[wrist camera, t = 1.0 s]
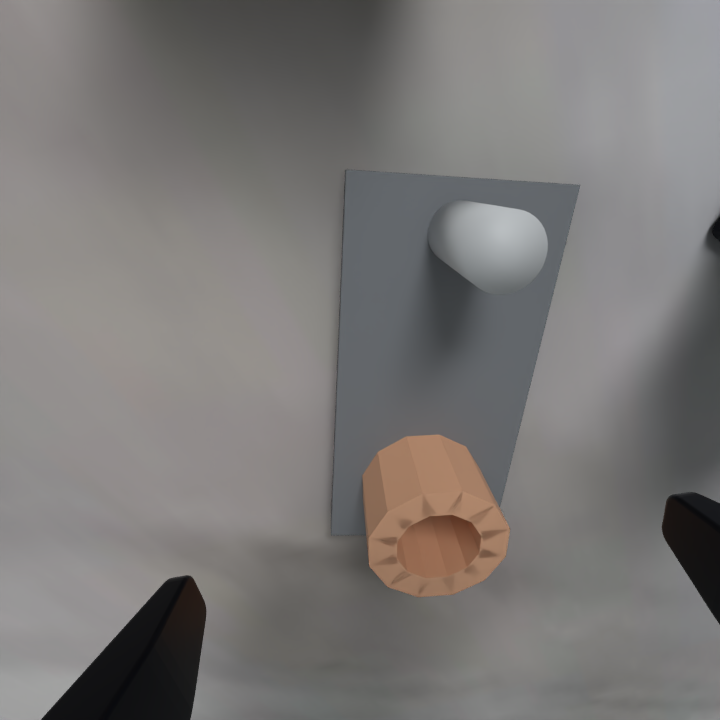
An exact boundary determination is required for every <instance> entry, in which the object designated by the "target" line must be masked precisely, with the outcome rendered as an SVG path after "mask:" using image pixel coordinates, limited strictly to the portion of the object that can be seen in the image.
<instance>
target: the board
mask: <svg viewBox="0 0 720 720" xmlns="http://www.w3.org/2000/svg"><path fill="white" fill-rule="evenodd" d="M579 188H580V185H573V184H558V183H543V182H528V181H512V180H497V179H482V178H467V177H452V176H437V175H422V174H407V173H391V172H376V171H361V170H345V190H344V215H343V239H342V264H341V288H340V313H339V338H338V362H337V387H336V411H335V436H334V460H333V485H332V510H331V535H366V526H365V515H364V504H363V481H362V475H363V474H364V472H365V471H366V469H367V468H368V466H369V465H370V463H371V461H372V460H373V458H374V457H375V455H376V454H377V452H378V451H380V450H382V449H384V448H386V447H388V446H389V445H391V444H393V443H395V442H397V441H399V440H401V439H402V438H404V437H406V436H422V435H441V436H444V437H446V438H448V439H450V440H452V441H455V442H457V443H459V444H461V445H464V446H466V447H467V449H468V451H469V452H470V454H471V455H472V457H473V459H474V460H475V462H476V463H477V465H478V467H479V468H480V470H481V472H482V474H483V476H484V478H485V480H486V482H487V484H488V486H489V488H490V490H491V492H492V494H493V496H494V498H495V500H496V502H497V504H498V506H499V508H500V504H501V500H502V496H503V492H504V488H505V484H506V480H507V476H508V472H509V468H510V464H511V460H512V456H513V452H514V448H515V444H516V440H517V436H518V432H519V428H520V424H521V420H522V416H523V412H524V408H525V404H526V400H527V396H528V392H529V388H530V384H531V380H532V376H533V372H534V368H535V364H536V360H537V356H538V352H539V348H540V344H541V340H542V336H543V332H544V328H545V324H546V320H547V316H548V312H549V308H550V304H551V300H552V296H553V292H554V288H555V284H556V280H557V276H558V272H559V268H560V264H561V260H562V256H563V252H564V248H565V244H566V240H567V236H568V232H569V228H570V224H571V220H572V216H573V212H574V208H575V204H576V200H577V196H578V192H579Z"/></svg>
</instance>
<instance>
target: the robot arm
mask: <svg viewBox="0 0 720 720" xmlns="http://www.w3.org/2000/svg"><path fill="white" fill-rule="evenodd" d="M713 235H714V237H715V238H716V239H718V240H719V241H720V218H719V219H718V221H717V222H716V223H715V225H714V227H713ZM662 532H663V535H664V538H665V540H666V542H667V544H668V545H669V547H670V548H671V550H672V551H673V553H674V554H675V556H676V558H677V559H678V561H679V562H680V564H681V565H682V567H683V569H684V570H685V572H686V573H687V575H688V576H689V578H690V580H691V581H692V583H693V584H694V586H695V587H696V589H697V590H698V592H699V594H700V595H701V597H702V598H703V600H704V601H705V603H706V605H707V606H708V608H709V609H710V611H711V612H712V614H713V615H714V617H715V618H716V620H717V621H718V623H719V624H720V503H718V502H716V501H713V500H711V499H709V498H707V497H704V496H702V495H700V494H697V493H694V492H686V493H680V494H674V495H671V496H669V497H668V499H667V501H666V506H665V512H664V518H663V523H662ZM205 621H206V605H205V602H204V599H203V597H202V595H201V593H200V591H199V589H198V587H197V585H196V583H195V581H194V579H193V578H192V577H191V576H188V575H186V576H180V577H174V578H170V579H168V580H167V581H166V582H165V583H164V584H163V585H162V586H161V587H160V588H159V589H158V590H157V591H156V592H155V594H154V595H153V596H152V597H151V598H150V599H149V600H148V601H147V602H146V604H145V605H144V606H143V607H142V608H141V609H140V610H139V611H138V612H137V614H136V615H135V616H134V617H133V618H132V619H131V620H130V621H129V622H128V624H127V625H126V626H125V627H124V628H123V629H122V630H121V631H120V632H119V634H118V635H117V636H116V637H115V638H114V639H113V640H112V641H111V642H110V643H109V645H108V646H107V647H106V648H105V649H104V650H103V651H102V652H101V653H100V655H99V656H98V657H97V658H96V659H95V660H94V661H93V662H92V663H91V665H90V666H89V667H88V668H87V669H86V670H85V671H84V672H83V673H82V675H81V676H80V677H79V678H78V679H77V680H76V681H75V682H74V683H73V685H72V686H71V687H70V688H69V689H68V690H67V691H66V692H65V693H64V695H63V696H62V697H61V698H60V699H59V700H58V701H57V702H56V703H55V705H54V706H53V707H52V708H51V709H50V710H49V711H48V712H47V713H46V715H45V716H44V717H43V718H42V719H41V720H190V718H191V714H192V709H193V703H194V697H195V690H196V683H197V676H198V669H199V662H200V655H201V648H202V641H203V635H204V628H205Z"/></svg>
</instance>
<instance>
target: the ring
mask: <svg viewBox="0 0 720 720" xmlns="http://www.w3.org/2000/svg"><path fill="white" fill-rule="evenodd" d="M362 481H363V504H364V515H365V526H366V537H367V548H368V559H369V566H370V568H371V569H372V570H373V571H374V572H375V573H376V574H377V576H378V577H379V578H380V579H381V580H382V581H383V582H384V583H385V585H386V586H387V587H389V588H392V589H395V590H398V591H401V592H404V593H407V594H410V595H413V596H416V597H427V596H440V595H453V594H455V593H458V592H460V591H462V590H464V589H466V588H468V587H471V586H473V585H475V584H477V583H479V582H482V581H484V580H485V579H486V578H487V577H488V576H489V575H490V574H491V572H492V571H493V570H494V569H495V568H496V567H497V566H498V565H499V563H500V562H501V561H502V560H503V559H504V558H505V557H506V552H507V545H508V539H509V533H510V528H509V526H508V524H507V522H506V520H505V518H504V516H503V514H502V512H501V510H500V508H499V506H498V504H497V502H496V500H495V498H494V496H493V494H492V492H491V490H490V488H489V486H488V484H487V482H486V480H485V478H484V476H483V474H482V472H481V470H480V468H479V467H478V465H477V463H476V462H475V460H474V459H473V457H472V455H471V454H470V452H469V451H468V449H467V447H466V446H464V445H461V444H459V443H457V442H455V441H452V440H450V439H448V438H446V437H444V436H441V435H422V436H406V437H404V438H402V439H401V440H399V441H397V442H395V443H393V444H391V445H389V446H388V447H386V448H384V449H382V450H380V451H378V452H377V454H376V455H375V457H374V458H373V460H372V461H371V463H370V465H369V466H368V468H367V469H366V471H365V472H364V474H363V475H362Z"/></svg>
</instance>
